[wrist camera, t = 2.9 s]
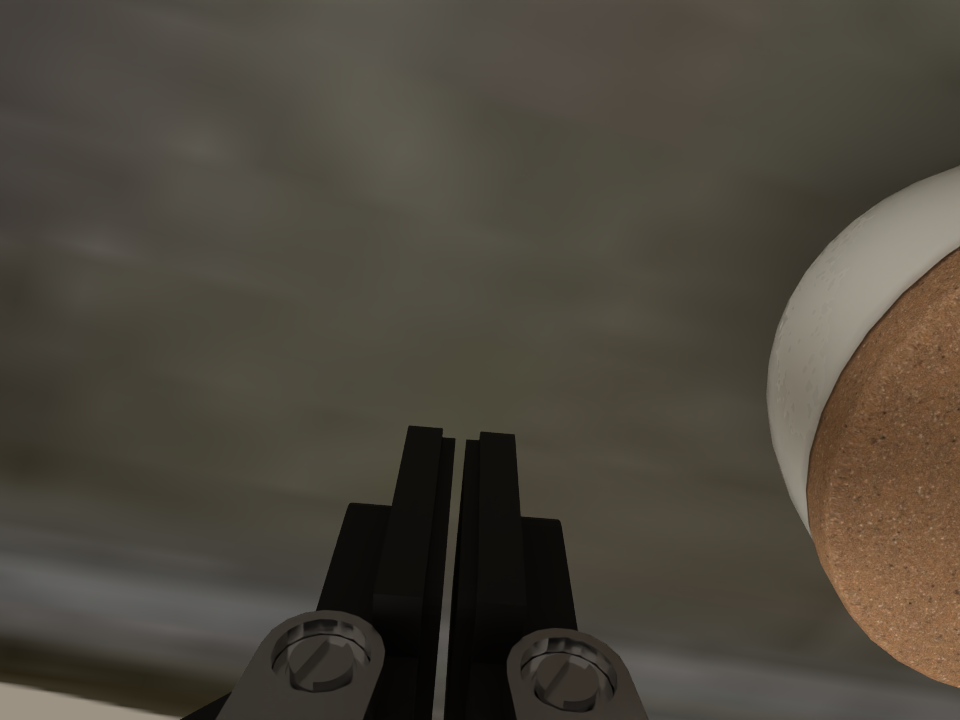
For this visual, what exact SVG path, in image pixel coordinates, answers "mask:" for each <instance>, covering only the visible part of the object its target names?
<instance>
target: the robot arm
mask: <svg viewBox="0 0 960 720" xmlns="http://www.w3.org/2000/svg"><path fill="white" fill-rule="evenodd" d="M442 435H443V428H432V427H420V426H409V427H408V431H407V436H406V441H405V445H404V450H403V455H402V460H401V464H400V469H399V474H398V479H397V484H396V488H395V493H394V498H393V503H392V506H386V505H374V504H362V503H350V504H349V505H348V508H347V511H346V514H345V517H344V521H343V524H342V527H341V530H340V534H339V537H338V540H337V544H336V547H335V550H334V553H333V557H332V560H331V563H330V567H329V570H328V573H327V576H326V580H325V583H324V586H323V589H322V593H321V596H320V599H319V603H318V606H317V609H316V611H314V612H307V613H303V614H300V615H298V616H295V617H292V618H289V619H287V620H286V621H284V622H283V623H281V624H280V625H278V626H277V627H275V628H274V629H272V630H271V632H270V633H269V634H268V635H267V636H266V638H265V639H264V640H263V641H262V642H261V644H260V646H259V647H258V649H257V651H256V652H255V654H254V656H253V657H252V659H251V661H250V663H249V664H248V666H247V668H246V669H245V671H244V673H243V674H242V676H241V678H240V679H239V681H238V683H237V684H236V686H235V688H234V689H233V691H232V692H230V693H229V694H227V695H225V696H223V697H221V698H219V699H217V700H216V701H214V702H212V703H210V704H208V705H206V706H204V707H203V708H201V709H199V710H197V711H195V712H193V713H192V714H190V715H188V716H186V717H184V718H182V719H180V720H432V710H433V699H434V687H435V676H436V665H437V654H438V642H439V631H440V620H441V608H442V597H443V585H444V573H445V560H446V548H447V536H448V524H449V512H450V499H451V487H452V475H453V463H454V451H455V438H444V437H442ZM444 720H649V719H648V717H647V714H646V712H645V710H644V707H643V705H642V702H641V700H640V698H639V695H638V693H637V690H636V688H635V685H634V683H633V681H632V678H631V676H630V673H629V671H628V669H627V667H626V666H625V664H624V663H623V661H622V659H621V658H620V656H619V655H618V654H617V653H616V652H614V651H613V650H612V649H611V648H610V647H609V646H608V645H607V644H605V643H604V642H602V641H600V640H598V639H597V638H595V637H593V636H591V635H589V634H586V633H582V632H579V631H578V629H577V623H576V616H575V610H574V603H573V597H572V590H571V584H570V577H569V571H568V565H567V558H566V552H565V545H564V539H563V532H562V526H561V522H560V521H559V520H558V519H546V518H533V517H521V514H520V500H519V486H518V472H517V458H516V443H515V435H514V434H503V433H491V432H480V439H479V440H467V439H466V448H465V459H464V469H463V480H462V491H461V501H460V512H459V522H458V533H457V544H456V554H455V565H454V576H453V587H452V600H451V615H450V630H449V645H448V661H447V676H446V691H445V706H444Z"/></svg>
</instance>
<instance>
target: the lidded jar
mask: <svg viewBox="0 0 960 720" xmlns="http://www.w3.org/2000/svg"><path fill="white" fill-rule="evenodd" d="M766 398H767V407H768V416H769V425H770V431H771V437H772V443H773V447H774V450H775V454H776V457H777V460H778V463H779V467H780V470H781V473H782V476H783V479H784V481H785V484H786V487H787V490H788V493H789V495H790V498H791V500H792V502H793V504H794V506H795V508H796V510H797V512H798V513H799V515H800V517H801V519H802V521H803V523H804V525H805V527H806V529H807V530H808V532H809V534H810V536H811V538H812V540H813V541H814V545H815V548H816V551H817V555H818V558H819V560H820V563H821V565H822V567H823V568H824V570H825V572H826V574H827V576H828V577H829V579H830V581H831V583H832V585H833V587H834V588H835V590H836V592H837V594H838V596H839V597H840V599H841V601H842V603H843V605H844V606H845V608H846V609H847V611H848V613H849V614H850V615H851V617H852V618H853V619H854V620H855V621H856V622H857V624H858V625H859V626H860V627H861V628H862V629H863V631H864V632H865V633H866V634H867V635H868V636H869V638H870V639H871V640H872V641H874V642H875V643H876V644H877V645H879V646H880V647H881V648H882V649H884V650H885V651H886V652H888V653H889V654H890V655H891V656H893V657H894V658H895V659H896V660H898V661H899V662H901V663H903V664H905V665H907V666H909V667H911V668H912V669H914V670H916V671H918V672H920V673H922V674H924V675H926V676H927V677H929V678H932V679H934V680H937V681H940V682H943V683H946V684H949V685H952V686H955V687H958V688H960V166H957V167H955V168H952V169H949V170H947V171H944V172H941V173H939V174H936V175H933V176H931V177H928V178H926V179H923V180H920V181H918V182H915V183H913V184H911V185H910V186H908V187H906V188H904V189H902V190H900V191H898V192H897V193H895V194H893V195H891V196H889V197H887V198H885V199H884V200H882V201H881V202H879V203H878V204H876V205H875V206H874V207H872V208H871V209H869V210H868V211H867V212H865V213H864V214H862V215H861V216H860V217H858V218H857V219H855V220H854V221H853V222H852V223H851V224H850V225H849V226H847V227H846V228H845V229H844V230H843V231H842V232H841V233H840V234H839V235H838V236H837V237H836V238H835V239H834V240H833V241H831V242H830V243H829V244H828V245H827V246H826V248H825V249H824V250H823V251H822V253H821V254H820V255H819V256H818V257H817V259H816V260H815V261H814V262H813V264H812V265H811V266H810V267H809V268H808V270H807V271H806V272H805V274H804V276H803V277H802V279H801V281H800V282H799V284H798V285H797V287H796V289H795V290H794V292H793V294H792V295H791V297H790V299H789V301H788V303H787V306H786V308H785V310H784V313H783V315H782V317H781V320H780V322H779V324H778V327H777V331H776V335H775V339H774V343H773V347H772V351H771V355H770V361H769V368H768V381H767V394H766Z"/></svg>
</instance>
